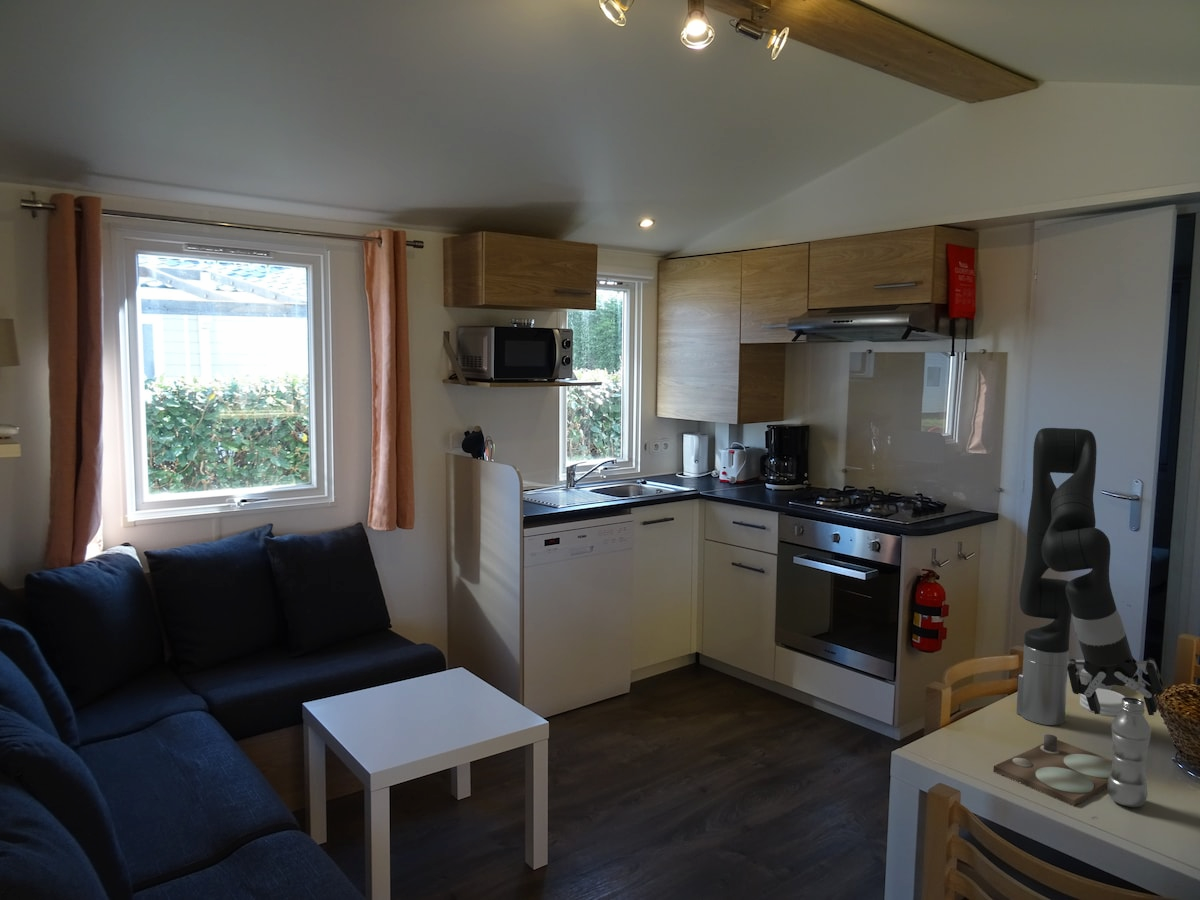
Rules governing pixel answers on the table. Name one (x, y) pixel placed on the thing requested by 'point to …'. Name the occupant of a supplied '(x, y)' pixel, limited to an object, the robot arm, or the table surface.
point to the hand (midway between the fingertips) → (1124, 712)
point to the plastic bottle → (1129, 754)
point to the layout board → (1059, 770)
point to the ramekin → (1086, 677)
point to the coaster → (1105, 702)
